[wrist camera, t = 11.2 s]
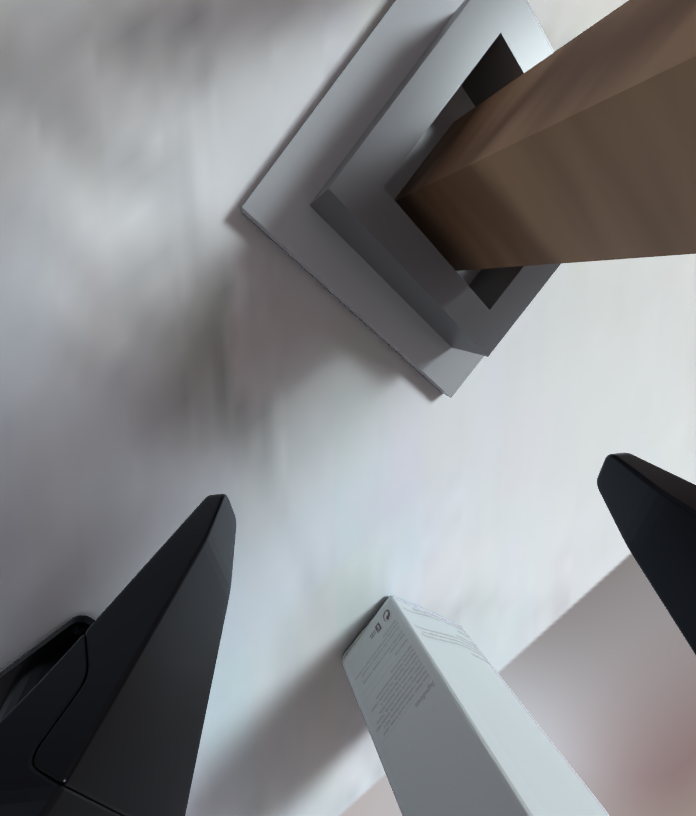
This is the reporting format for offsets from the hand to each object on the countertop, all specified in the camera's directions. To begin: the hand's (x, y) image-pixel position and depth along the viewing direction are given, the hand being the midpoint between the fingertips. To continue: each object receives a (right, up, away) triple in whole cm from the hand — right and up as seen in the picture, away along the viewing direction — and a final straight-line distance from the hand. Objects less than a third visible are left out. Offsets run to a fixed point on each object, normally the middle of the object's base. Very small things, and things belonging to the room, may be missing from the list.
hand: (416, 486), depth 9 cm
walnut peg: (+3, +12, +9) cm, 15 cm away
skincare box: (+3, -15, +18) cm, 24 cm away
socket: (+3, +12, +10) cm, 16 cm away
